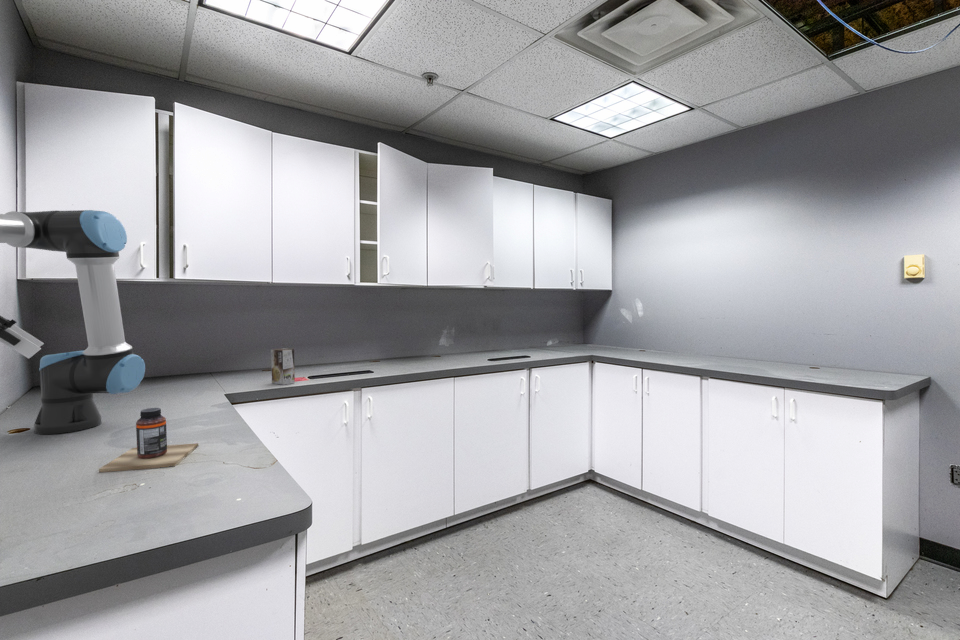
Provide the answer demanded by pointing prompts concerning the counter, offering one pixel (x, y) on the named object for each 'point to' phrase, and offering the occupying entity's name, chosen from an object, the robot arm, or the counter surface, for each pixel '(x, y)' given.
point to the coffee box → (282, 366)
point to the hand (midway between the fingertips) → (37, 350)
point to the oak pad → (149, 459)
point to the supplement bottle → (151, 433)
